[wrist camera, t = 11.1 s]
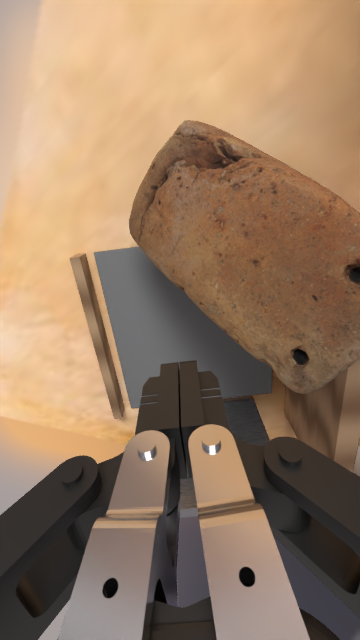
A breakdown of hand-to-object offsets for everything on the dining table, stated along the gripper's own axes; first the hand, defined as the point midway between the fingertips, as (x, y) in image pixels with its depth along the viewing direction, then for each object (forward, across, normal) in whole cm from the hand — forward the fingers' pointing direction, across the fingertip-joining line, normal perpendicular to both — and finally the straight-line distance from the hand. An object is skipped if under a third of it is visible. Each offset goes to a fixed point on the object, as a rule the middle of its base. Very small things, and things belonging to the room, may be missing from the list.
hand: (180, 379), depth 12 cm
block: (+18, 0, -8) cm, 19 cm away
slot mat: (+20, -1, +8) cm, 22 cm away
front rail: (+20, +10, +8) cm, 24 cm away
